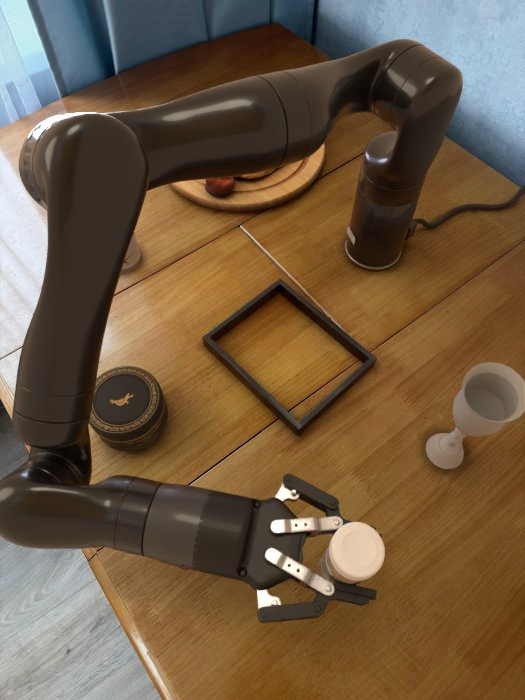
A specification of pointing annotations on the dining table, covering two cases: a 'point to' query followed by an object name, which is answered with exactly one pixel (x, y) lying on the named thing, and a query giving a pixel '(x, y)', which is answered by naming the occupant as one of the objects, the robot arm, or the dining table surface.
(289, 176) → the wooden plate
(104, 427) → the jar
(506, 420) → the chalice
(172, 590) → the dining table surface
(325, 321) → the picture frame
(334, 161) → the dining table surface
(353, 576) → the sprinkles bottle
